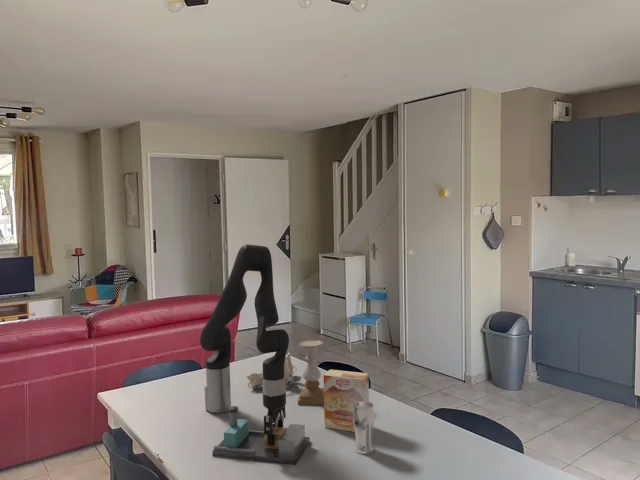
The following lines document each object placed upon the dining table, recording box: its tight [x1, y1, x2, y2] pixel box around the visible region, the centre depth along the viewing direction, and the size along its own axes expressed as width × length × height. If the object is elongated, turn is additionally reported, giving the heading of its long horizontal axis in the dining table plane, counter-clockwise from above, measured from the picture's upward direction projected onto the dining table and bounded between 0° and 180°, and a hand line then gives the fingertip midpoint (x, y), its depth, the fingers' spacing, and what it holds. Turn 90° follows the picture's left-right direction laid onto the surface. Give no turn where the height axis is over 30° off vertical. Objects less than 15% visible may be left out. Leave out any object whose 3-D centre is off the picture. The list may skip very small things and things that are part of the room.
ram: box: [223, 405, 250, 448], centre depth 172 cm, size 5×11×11 cm, turn 165°
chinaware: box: [246, 351, 297, 390], centre depth 231 cm, size 28×17×17 cm, turn 144°
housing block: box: [264, 427, 288, 449], centre depth 168 cm, size 6×5×5 cm
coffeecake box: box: [323, 368, 370, 433], centre depth 184 cm, size 15×7×20 cm, turn 68°
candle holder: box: [297, 339, 324, 406], centre depth 210 cm, size 11×11×24 cm
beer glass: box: [353, 401, 375, 455], centre depth 167 cm, size 7×7×15 cm
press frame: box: [211, 423, 311, 466], centre depth 170 cm, size 28×16×6 cm, turn 75°
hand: (275, 439), depth 168 cm, fingers open, 8 cm apart
